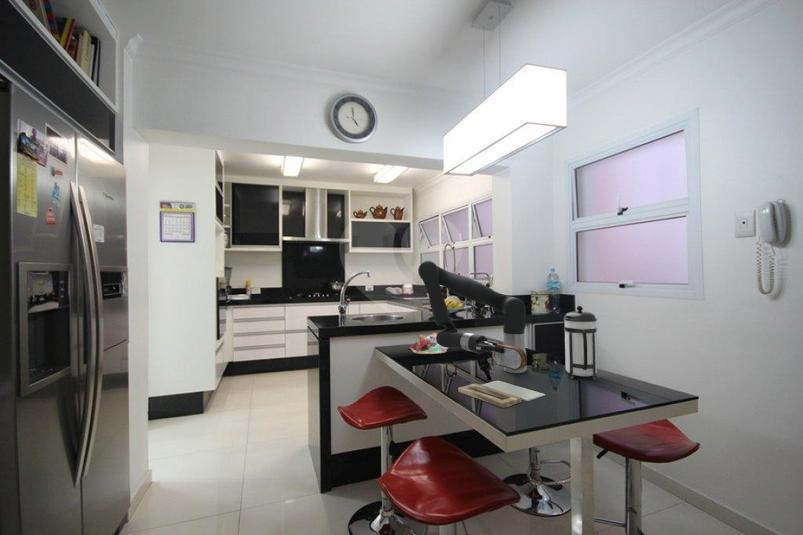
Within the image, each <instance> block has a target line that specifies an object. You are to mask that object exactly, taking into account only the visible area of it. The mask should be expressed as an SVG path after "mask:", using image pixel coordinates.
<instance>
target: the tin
mask: <svg viewBox="0 0 803 535" xmlns="http://www.w3.org/2000/svg"><path fill="white" fill-rule="evenodd" d="M496 346H499V347H503V348H504V353H503V354H502V353H498V352H491V358H492V361H493V362H494V363H495V364H496V365H497V366H498V367H502V368H504V367H505V368H509V369H512V370H521V369H524V368H525V366H526V367H527V363H528V357H527V353H526V354H525V352H524V351H523V350H522V349H521V348H519V347H514V346H510V345H506V344H499V345H496Z"/></svg>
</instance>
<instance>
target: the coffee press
mask: <svg viewBox="0 0 803 535" xmlns="http://www.w3.org/2000/svg"><path fill="white" fill-rule="evenodd" d="M576 309H577V311H569V312H567V313H565V315H564V317H563V321H564V327H563V331H564V346H565V347H564V352H565V353H564V355H565V357H564V358H565V370H564V371H565V373H566V374H568V376H567V378H568V379H571V380H573V379H574V377H576V376H577V377H590V378H591V379H592V380H593V381H595V382H596V381H599V376H598V375H597V373H598V359H597V358H598V355H597V331H598V330H597V329H598V328H597V321H598V318H596V315H595V314H594V313H592V312H588V311H583V307H582V306H581V305H578V306H577V307H576Z"/></svg>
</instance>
